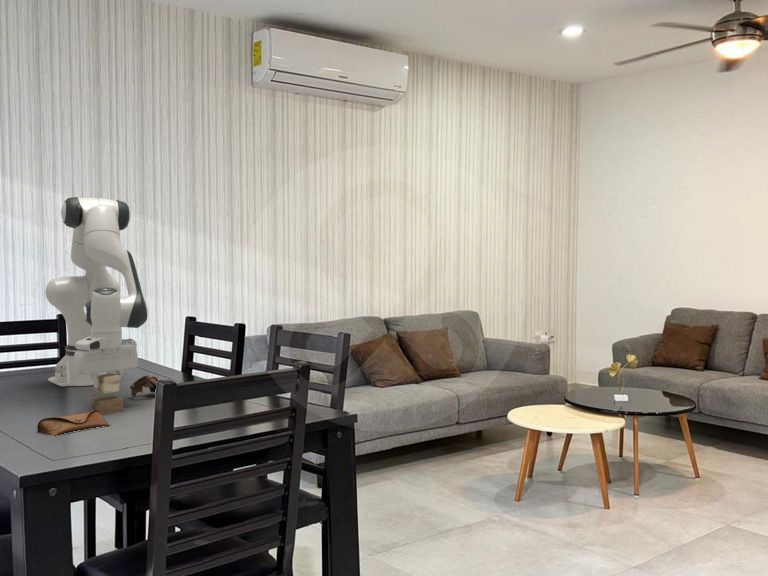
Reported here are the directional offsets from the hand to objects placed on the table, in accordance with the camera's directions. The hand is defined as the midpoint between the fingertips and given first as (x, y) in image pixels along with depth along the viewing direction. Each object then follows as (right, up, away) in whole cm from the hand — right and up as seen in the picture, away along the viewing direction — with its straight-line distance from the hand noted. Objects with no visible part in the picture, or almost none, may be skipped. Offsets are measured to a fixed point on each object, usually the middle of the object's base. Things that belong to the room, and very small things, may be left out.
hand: (107, 386), depth 233 cm
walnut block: (0, -8, +1) cm, 8 cm away
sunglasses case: (-1, -10, -22) cm, 24 cm away
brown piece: (+6, -7, +22) cm, 24 cm away
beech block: (0, -2, 0) cm, 2 cm away
